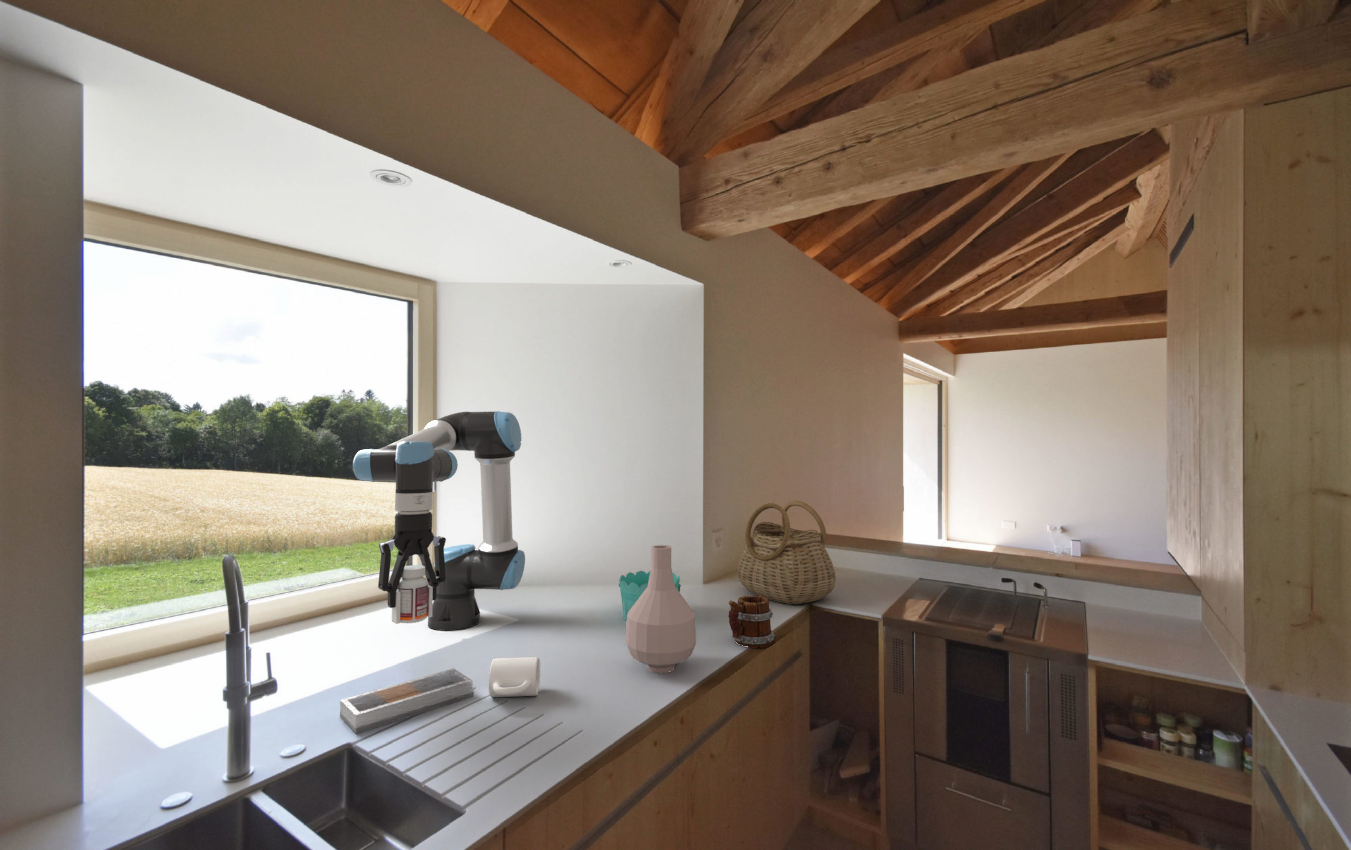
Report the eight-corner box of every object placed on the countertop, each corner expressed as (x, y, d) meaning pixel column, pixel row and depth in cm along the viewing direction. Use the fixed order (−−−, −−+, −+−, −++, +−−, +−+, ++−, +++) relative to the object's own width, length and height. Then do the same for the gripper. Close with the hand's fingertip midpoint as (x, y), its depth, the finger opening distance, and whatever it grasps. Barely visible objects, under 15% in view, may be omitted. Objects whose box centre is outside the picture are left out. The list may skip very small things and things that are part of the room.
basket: (850, 600, 213) (850, 504, 213) (795, 614, 197) (795, 509, 197) (777, 580, 241) (777, 495, 242) (724, 591, 225) (724, 499, 225)
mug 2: (785, 641, 171) (779, 589, 169) (750, 661, 162) (744, 607, 160) (755, 630, 180) (749, 581, 178) (720, 649, 171) (713, 598, 169)
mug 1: (496, 687, 140) (496, 652, 140) (540, 686, 141) (540, 651, 141) (484, 711, 128) (484, 673, 128) (532, 710, 129) (532, 672, 129)
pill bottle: (426, 614, 137) (427, 563, 137) (428, 621, 131) (429, 568, 131) (396, 617, 134) (396, 565, 134) (396, 625, 128) (397, 571, 129)
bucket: (609, 621, 189) (609, 579, 189) (635, 606, 205) (635, 567, 206) (666, 629, 181) (666, 585, 182) (688, 612, 198) (688, 572, 198)
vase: (643, 687, 140) (644, 556, 140) (614, 662, 155) (615, 543, 156) (709, 674, 148) (709, 549, 148) (675, 650, 164) (676, 538, 164)
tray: (355, 733, 118) (355, 715, 118) (339, 716, 125) (339, 699, 125) (473, 696, 135) (473, 680, 135) (453, 683, 142) (453, 667, 142)
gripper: (373, 517, 124) (371, 632, 123) (463, 510, 137) (462, 613, 136) (361, 513, 129) (359, 624, 128) (449, 507, 142) (447, 607, 142)
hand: (412, 618), depth 132 cm, fingers closed on pill bottle, 6 cm apart
